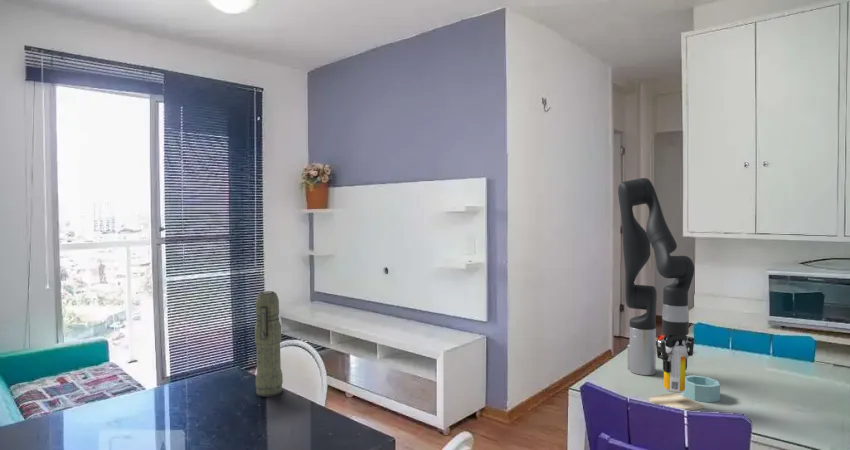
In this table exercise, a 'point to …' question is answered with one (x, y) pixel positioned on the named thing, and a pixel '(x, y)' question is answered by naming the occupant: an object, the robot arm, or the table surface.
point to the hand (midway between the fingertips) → (675, 370)
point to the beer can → (676, 370)
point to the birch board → (676, 401)
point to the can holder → (702, 389)
